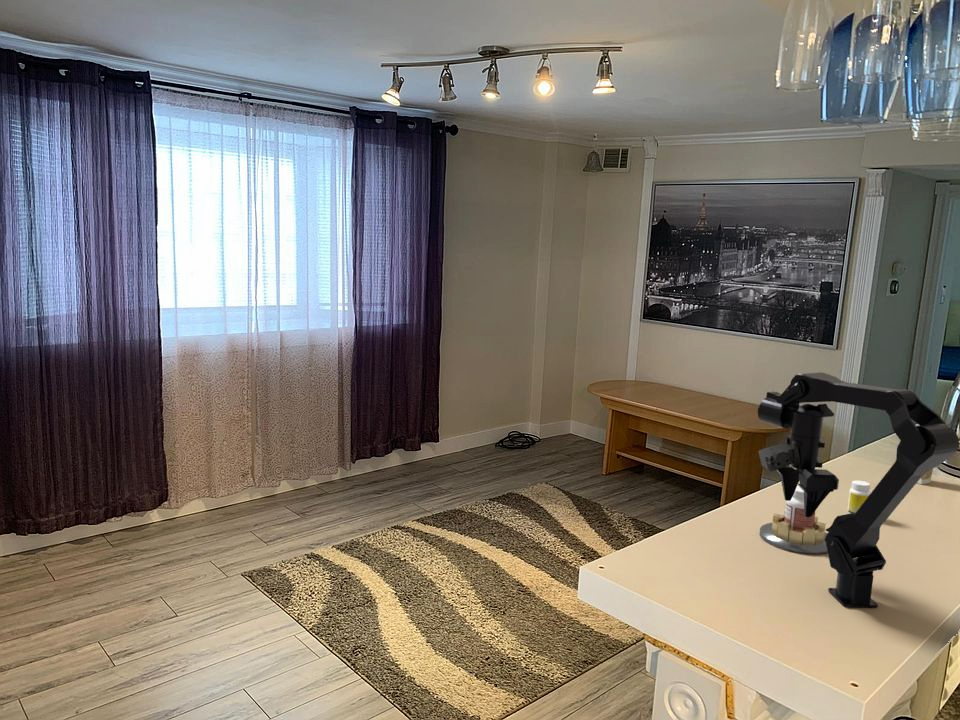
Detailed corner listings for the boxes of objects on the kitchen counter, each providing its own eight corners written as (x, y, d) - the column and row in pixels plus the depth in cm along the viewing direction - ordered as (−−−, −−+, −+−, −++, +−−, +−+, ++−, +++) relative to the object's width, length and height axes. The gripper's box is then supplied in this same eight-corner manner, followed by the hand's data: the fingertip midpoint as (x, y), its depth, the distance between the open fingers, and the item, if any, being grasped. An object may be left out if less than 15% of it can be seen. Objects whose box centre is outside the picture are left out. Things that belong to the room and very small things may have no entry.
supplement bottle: (870, 519, 180) (874, 486, 178) (850, 517, 180) (854, 484, 179) (864, 512, 184) (868, 480, 183) (844, 510, 185) (848, 478, 184)
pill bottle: (817, 537, 164) (822, 490, 163) (804, 543, 160) (809, 495, 159) (791, 528, 169) (796, 482, 167) (777, 534, 165) (782, 487, 163)
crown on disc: (849, 555, 157) (852, 534, 157) (776, 553, 157) (779, 532, 156) (815, 527, 173) (817, 507, 172) (748, 525, 173) (750, 506, 172)
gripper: (748, 421, 155) (741, 491, 157) (785, 446, 136) (777, 524, 139) (800, 423, 155) (792, 493, 157) (844, 447, 136) (834, 526, 139)
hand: (797, 508), depth 148 cm, fingers open, 9 cm apart
